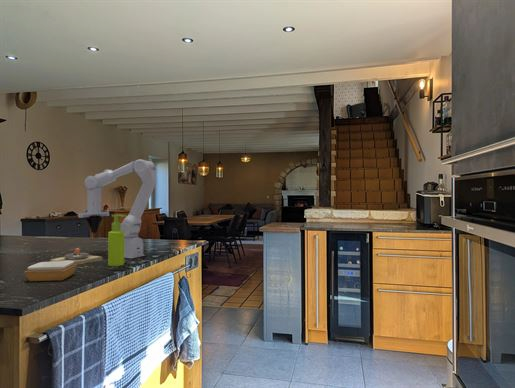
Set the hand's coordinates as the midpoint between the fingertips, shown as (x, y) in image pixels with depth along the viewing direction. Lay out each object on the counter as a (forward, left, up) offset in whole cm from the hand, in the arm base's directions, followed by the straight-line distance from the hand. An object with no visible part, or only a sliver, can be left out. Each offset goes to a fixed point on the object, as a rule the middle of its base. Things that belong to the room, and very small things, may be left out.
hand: (94, 232), depth 158 cm
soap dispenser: (-26, +9, -11) cm, 29 cm away
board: (-5, +12, -10) cm, 17 cm away
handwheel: (-5, +12, -9) cm, 16 cm away
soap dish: (-25, +35, -11) cm, 44 cm away
